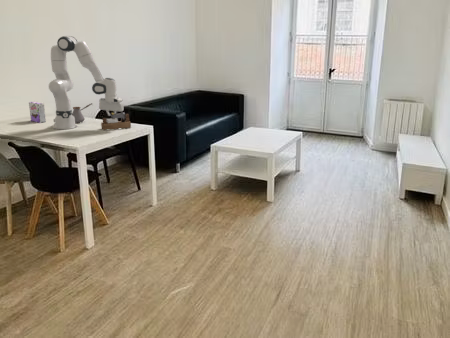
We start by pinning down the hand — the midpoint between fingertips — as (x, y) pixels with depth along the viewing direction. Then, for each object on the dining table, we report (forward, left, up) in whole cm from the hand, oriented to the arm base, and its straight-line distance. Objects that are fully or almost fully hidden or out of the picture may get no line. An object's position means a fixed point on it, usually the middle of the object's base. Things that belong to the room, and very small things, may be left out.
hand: (111, 116), depth 327 cm
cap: (+1, 0, -5) cm, 5 cm away
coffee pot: (-38, -15, -10) cm, 42 cm away
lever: (+3, +5, -5) cm, 7 cm away
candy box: (-53, -49, -10) cm, 73 cm away
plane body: (+1, +3, -10) cm, 11 cm away
